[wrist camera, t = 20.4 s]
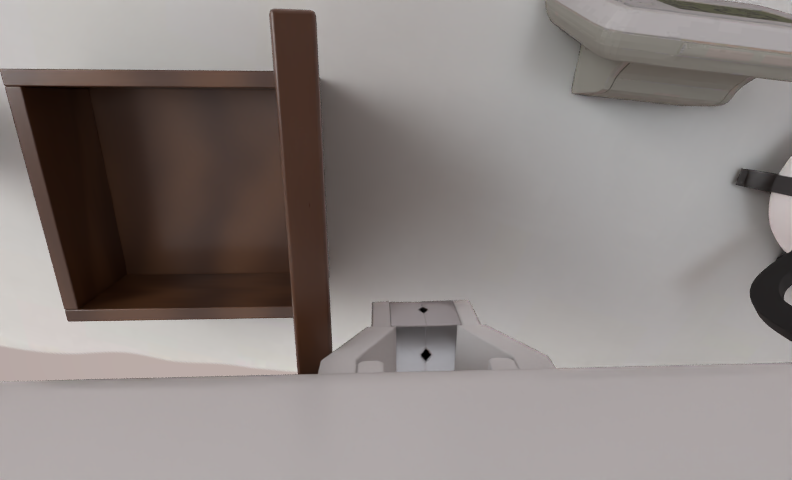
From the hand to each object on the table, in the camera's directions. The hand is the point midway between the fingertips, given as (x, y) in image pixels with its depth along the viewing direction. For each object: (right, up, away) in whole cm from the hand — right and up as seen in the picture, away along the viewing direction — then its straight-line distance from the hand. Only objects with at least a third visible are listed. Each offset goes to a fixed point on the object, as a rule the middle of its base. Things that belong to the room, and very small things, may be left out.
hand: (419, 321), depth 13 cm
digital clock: (+17, +17, +18) cm, 30 cm away
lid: (-5, +2, +5) cm, 7 cm away
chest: (-15, +7, +20) cm, 26 cm away
